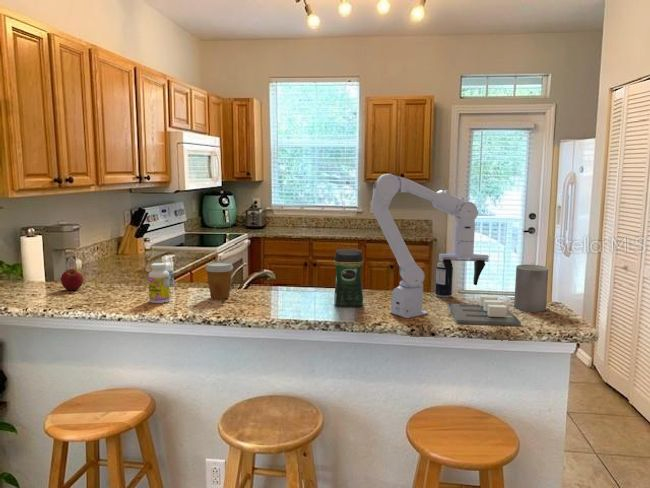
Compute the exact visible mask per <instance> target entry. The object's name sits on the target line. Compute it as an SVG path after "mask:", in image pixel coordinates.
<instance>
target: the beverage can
mask: <svg viewBox="0 0 650 488" xmlns="http://www.w3.org/2000/svg"><path fill="white" fill-rule="evenodd" d="M453 273H454V267H453V265H452V273H451V277H452V278H453V275H454V274H453ZM452 293H453V282H452V283H451V284H449V283H448V277H447V273H446V269H445V267H444V264H443V262H442V261H440V262H439V261H438V262H437V265H436V271H435V295H436V296H437V297H438V298H450V296H452V295H453V294H452Z"/></svg>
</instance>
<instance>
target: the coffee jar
mask: <svg viewBox="0 0 650 488" xmlns="http://www.w3.org/2000/svg"><path fill="white" fill-rule="evenodd" d="M333 264H334V267H335V286H334V294H333V295H334V296H333V297H334V298H333V303H334V305H335V306H337V307H343V308H347V307H348V308H353V307H354V308H355V307H360V306H362V305H363V303H364V295H363V285H362V269H363V268H362V267H363V265H364V259H363V252H362V250H361V249H347V248H346V249H345V248H344V249H343V248H342V249H336V251H335V255H334V260H333Z"/></svg>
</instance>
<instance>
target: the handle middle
mask: <svg viewBox="0 0 650 488" xmlns="http://www.w3.org/2000/svg"><path fill="white" fill-rule="evenodd" d="M488 305H503V302H502V301H501V300H500V299H497V300H484V304H483V309H484V311H488Z"/></svg>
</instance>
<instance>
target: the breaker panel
mask: <svg viewBox="0 0 650 488" xmlns="http://www.w3.org/2000/svg"><path fill="white" fill-rule="evenodd" d="M448 307H449V308H448ZM447 308H448V310H449V309H450V310H449V311H451V312H450V313H452V314H451V315H453V316H452V317H453V320H454V321H455V324H469V325H487V326H488V325H492V326H514V327H515V326H517V327H521V325H522V322H521V321H520V320H519V318H518V317H517V316H516V315H514V314H513V313H512V312H511V311H510V310H509V309H508V308H507V317H489V316H488V314H487V313H488V311H484V309H483V306H480V304H468V303H447Z"/></svg>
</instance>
